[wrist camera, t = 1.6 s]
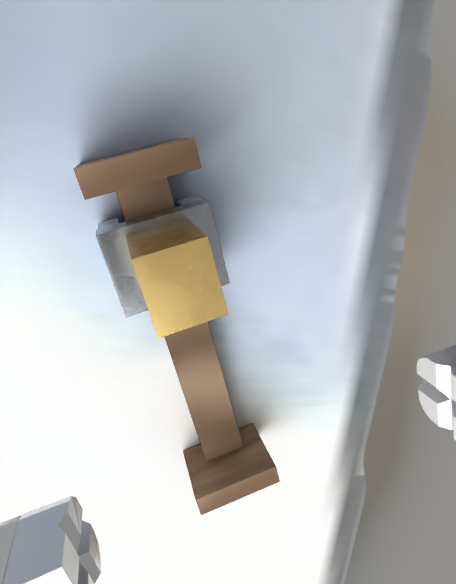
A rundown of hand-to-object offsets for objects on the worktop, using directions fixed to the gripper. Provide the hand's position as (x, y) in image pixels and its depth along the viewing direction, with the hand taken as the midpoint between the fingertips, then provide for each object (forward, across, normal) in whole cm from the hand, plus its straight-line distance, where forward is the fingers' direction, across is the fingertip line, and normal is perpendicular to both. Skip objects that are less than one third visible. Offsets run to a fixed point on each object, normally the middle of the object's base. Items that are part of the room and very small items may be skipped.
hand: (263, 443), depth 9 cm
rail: (+20, 0, +6) cm, 20 cm away
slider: (+20, 0, 0) cm, 20 cm away
